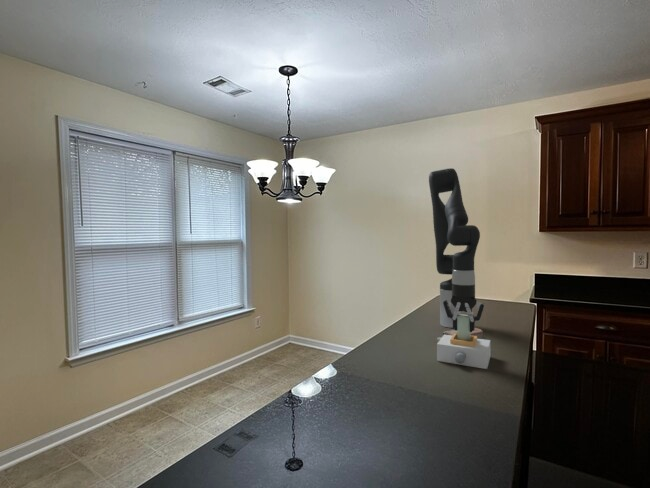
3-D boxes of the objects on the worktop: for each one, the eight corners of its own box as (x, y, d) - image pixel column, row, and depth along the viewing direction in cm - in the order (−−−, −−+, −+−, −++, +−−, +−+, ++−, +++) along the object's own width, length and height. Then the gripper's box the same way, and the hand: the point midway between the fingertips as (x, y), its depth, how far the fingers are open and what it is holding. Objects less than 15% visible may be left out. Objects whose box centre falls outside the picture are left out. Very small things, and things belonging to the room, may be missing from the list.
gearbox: (444, 350, 135) (443, 330, 134) (490, 356, 127) (490, 336, 126) (435, 363, 122) (434, 342, 121) (486, 372, 114) (486, 349, 113)
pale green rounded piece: (458, 338, 128) (458, 314, 128) (471, 340, 126) (471, 315, 125) (456, 342, 124) (455, 316, 124) (469, 344, 122) (469, 318, 122)
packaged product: (469, 324, 153) (488, 330, 143) (469, 335, 153) (488, 342, 144) (436, 330, 145) (454, 336, 136) (436, 341, 146) (453, 349, 137)
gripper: (486, 282, 124) (486, 330, 125) (444, 279, 131) (444, 325, 132) (484, 285, 117) (484, 336, 118) (440, 282, 124) (440, 331, 125)
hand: (463, 330), depth 125 cm, fingers closed on pale green rounded piece, 4 cm apart
